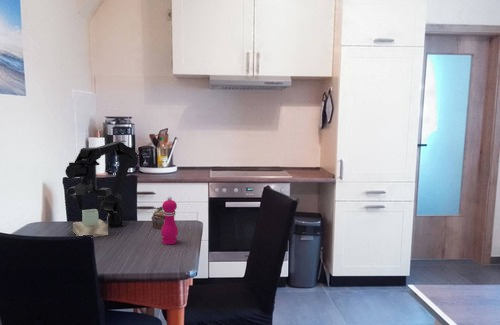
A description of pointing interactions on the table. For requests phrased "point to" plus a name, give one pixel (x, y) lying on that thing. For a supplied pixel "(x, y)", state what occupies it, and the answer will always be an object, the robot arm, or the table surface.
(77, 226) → the birch box
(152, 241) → the table surface
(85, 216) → the cube
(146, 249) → the table surface
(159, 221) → the cupcake
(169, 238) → the pepper mill
